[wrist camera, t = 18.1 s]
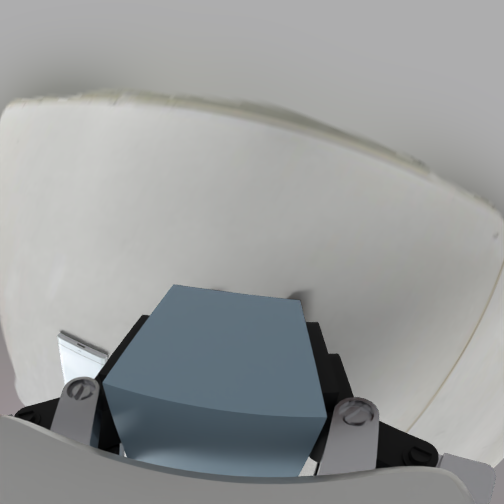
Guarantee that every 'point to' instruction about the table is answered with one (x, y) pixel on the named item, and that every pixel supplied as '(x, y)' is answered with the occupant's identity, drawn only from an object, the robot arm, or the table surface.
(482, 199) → the table surface
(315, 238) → the table surface
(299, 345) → the block
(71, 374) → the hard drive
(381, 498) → the robot arm
